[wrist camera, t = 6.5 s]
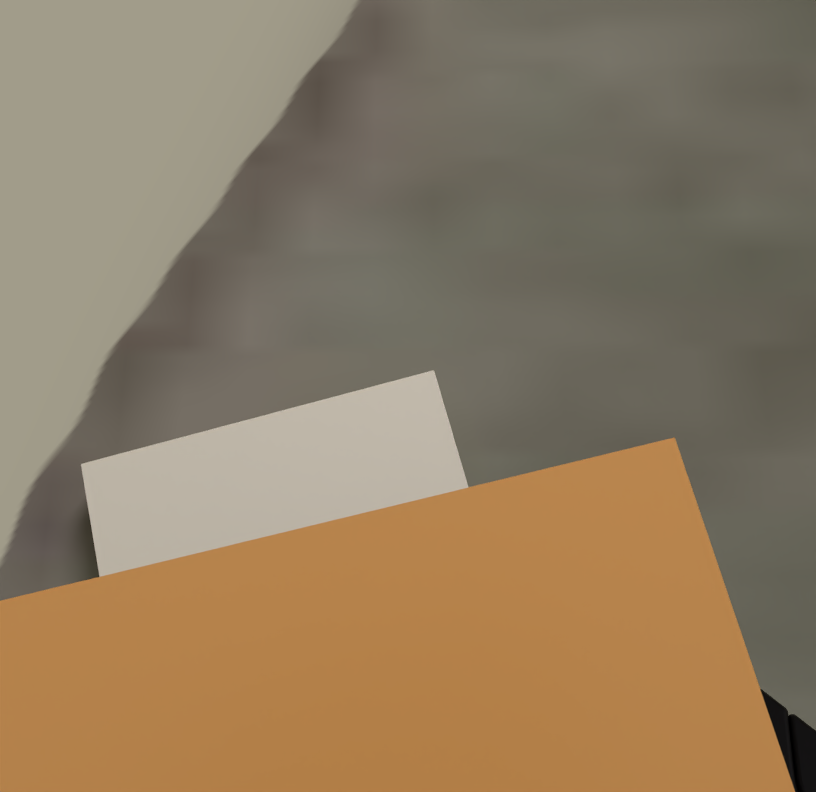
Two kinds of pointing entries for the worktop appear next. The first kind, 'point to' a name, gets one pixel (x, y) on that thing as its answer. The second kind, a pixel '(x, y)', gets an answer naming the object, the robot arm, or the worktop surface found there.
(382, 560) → the plug
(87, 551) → the worktop surface
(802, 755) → the robot arm
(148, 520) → the socket plate
